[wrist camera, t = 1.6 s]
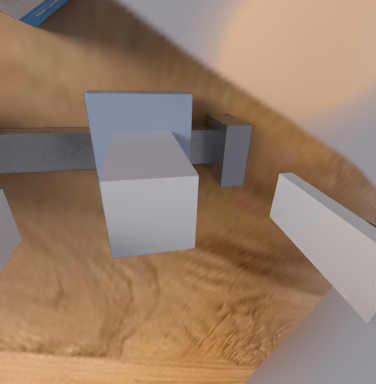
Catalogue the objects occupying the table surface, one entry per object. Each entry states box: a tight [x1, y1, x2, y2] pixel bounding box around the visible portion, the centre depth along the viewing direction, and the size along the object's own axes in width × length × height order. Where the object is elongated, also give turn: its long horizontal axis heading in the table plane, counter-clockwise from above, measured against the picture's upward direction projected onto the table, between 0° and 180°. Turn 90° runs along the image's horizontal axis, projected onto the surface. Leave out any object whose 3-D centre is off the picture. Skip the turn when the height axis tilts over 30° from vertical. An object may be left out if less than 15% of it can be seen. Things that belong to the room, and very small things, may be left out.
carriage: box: [84, 90, 199, 259], centre depth 15 cm, size 7×9×12 cm
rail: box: [0, 114, 253, 187], centre depth 18 cm, size 24×5×5 cm, turn 89°
